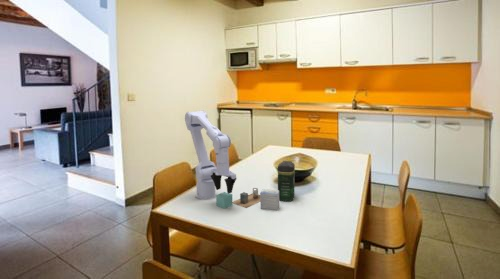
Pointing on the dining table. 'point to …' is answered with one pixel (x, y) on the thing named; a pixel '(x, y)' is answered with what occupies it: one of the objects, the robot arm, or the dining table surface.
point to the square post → (244, 198)
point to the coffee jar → (286, 181)
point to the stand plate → (250, 201)
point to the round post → (255, 193)
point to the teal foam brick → (224, 200)
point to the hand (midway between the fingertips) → (224, 191)
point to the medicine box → (269, 199)
